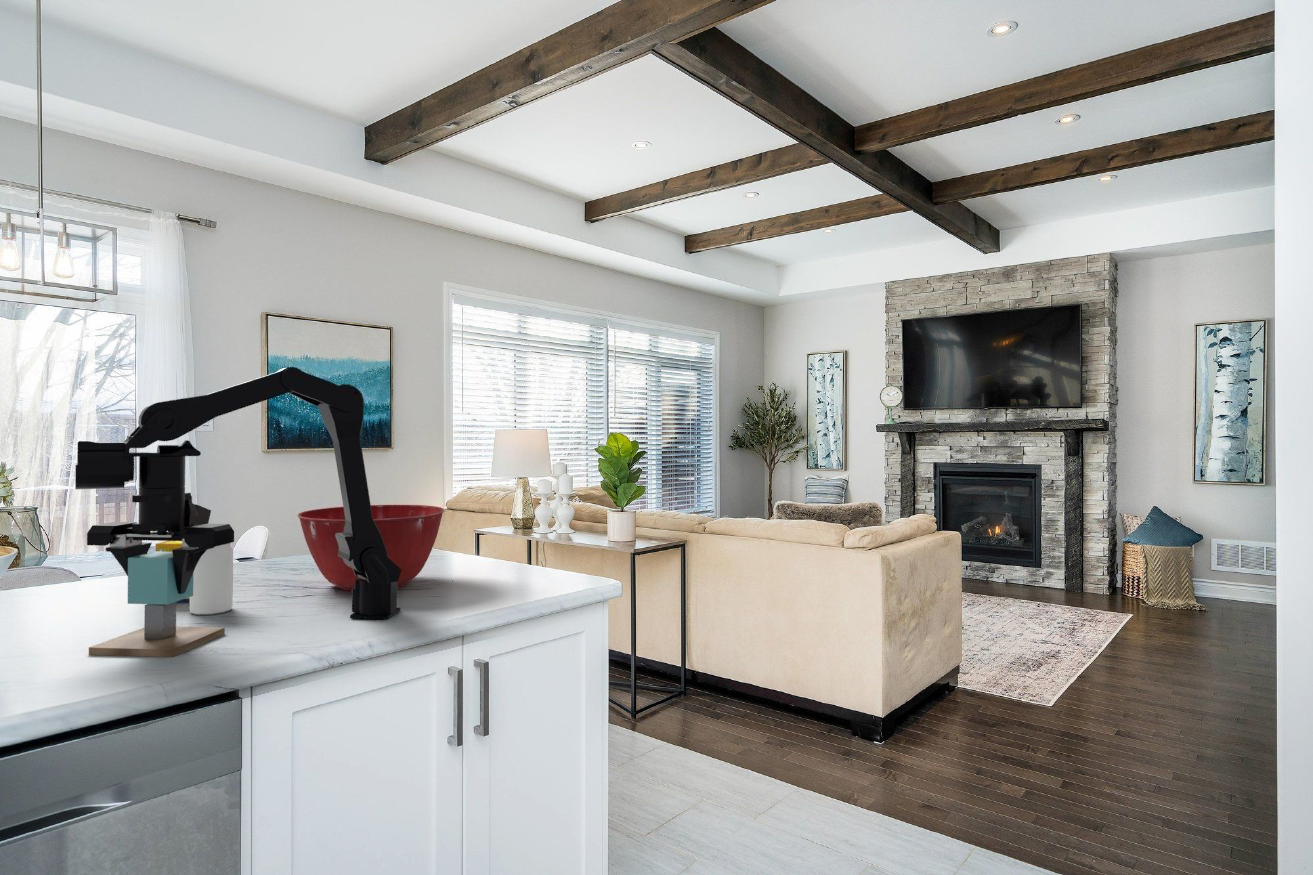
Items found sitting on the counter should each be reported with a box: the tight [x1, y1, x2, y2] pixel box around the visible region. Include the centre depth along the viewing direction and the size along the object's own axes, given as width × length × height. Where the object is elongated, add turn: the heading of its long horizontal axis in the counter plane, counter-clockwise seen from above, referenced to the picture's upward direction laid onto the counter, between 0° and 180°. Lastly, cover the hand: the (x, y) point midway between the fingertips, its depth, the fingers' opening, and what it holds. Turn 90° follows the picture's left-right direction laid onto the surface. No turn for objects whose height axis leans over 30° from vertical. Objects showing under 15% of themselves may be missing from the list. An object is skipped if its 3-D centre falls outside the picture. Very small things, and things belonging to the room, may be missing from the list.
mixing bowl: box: [296, 504, 445, 592], centre depth 156 cm, size 28×28×16 cm
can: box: [189, 543, 234, 616], centre depth 132 cm, size 6×6×12 cm
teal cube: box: [127, 550, 193, 605], centre depth 111 cm, size 6×6×7 cm
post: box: [143, 602, 177, 640], centre depth 111 cm, size 3×3×5 cm
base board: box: [88, 625, 226, 658], centre depth 111 cm, size 12×12×1 cm
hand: (161, 593), depth 111 cm, fingers closed on teal cube, 6 cm apart
